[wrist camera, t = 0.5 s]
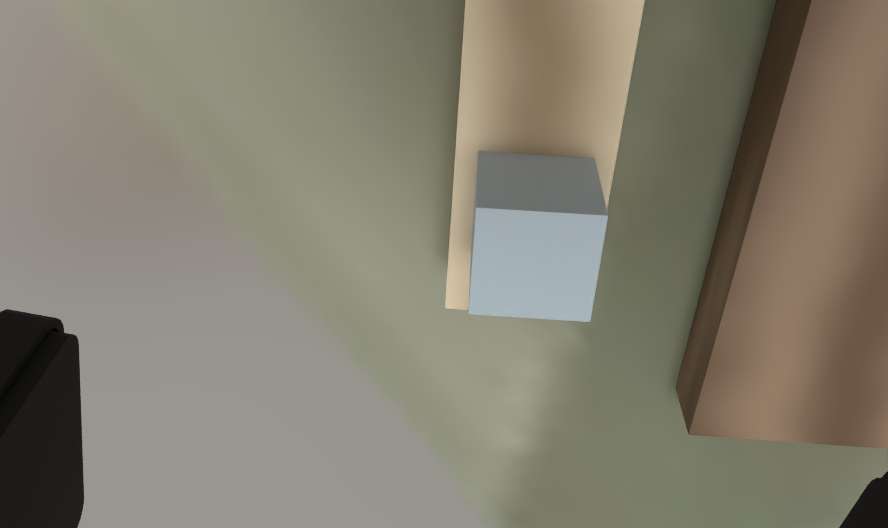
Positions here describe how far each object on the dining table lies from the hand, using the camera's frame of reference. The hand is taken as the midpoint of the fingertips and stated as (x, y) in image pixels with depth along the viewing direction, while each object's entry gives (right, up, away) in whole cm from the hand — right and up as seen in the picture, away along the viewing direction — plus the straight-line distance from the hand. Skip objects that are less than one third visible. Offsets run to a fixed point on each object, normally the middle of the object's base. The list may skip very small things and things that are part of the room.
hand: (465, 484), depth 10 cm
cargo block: (+3, +5, +20) cm, 21 cm away
